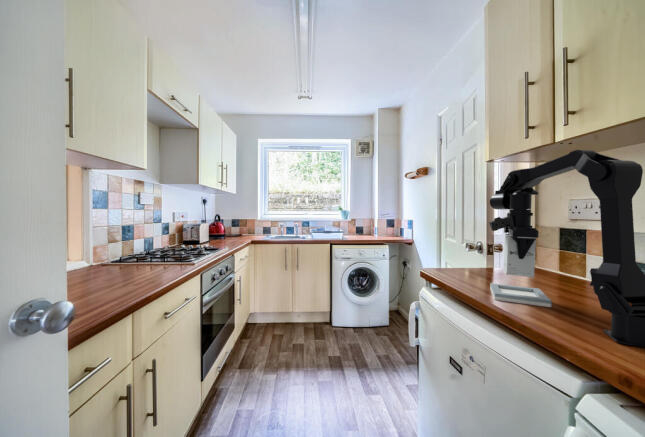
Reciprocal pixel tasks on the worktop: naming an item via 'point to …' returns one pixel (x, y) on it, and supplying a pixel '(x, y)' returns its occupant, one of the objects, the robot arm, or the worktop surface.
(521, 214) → the robot arm
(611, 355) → the worktop surface
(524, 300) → the tile coaster
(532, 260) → the supplement box
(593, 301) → the worktop surface
